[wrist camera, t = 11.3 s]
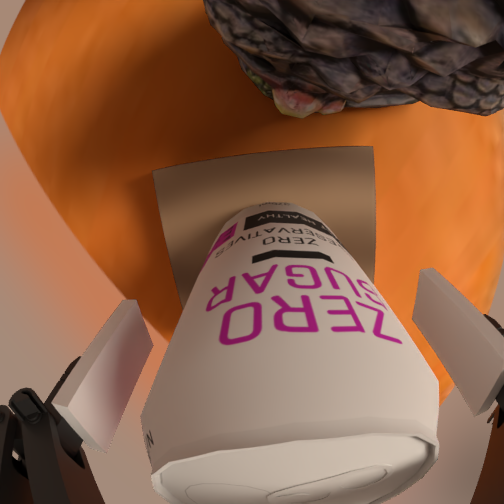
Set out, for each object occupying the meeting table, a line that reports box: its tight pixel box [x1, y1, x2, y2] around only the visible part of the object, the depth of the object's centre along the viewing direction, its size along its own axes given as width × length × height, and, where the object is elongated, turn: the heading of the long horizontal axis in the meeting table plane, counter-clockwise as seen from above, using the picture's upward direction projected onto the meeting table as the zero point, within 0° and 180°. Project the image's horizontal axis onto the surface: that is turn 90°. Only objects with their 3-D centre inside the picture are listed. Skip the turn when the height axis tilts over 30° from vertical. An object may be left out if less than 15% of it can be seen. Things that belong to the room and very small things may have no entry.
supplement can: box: [141, 202, 439, 504], centre depth 12 cm, size 8×8×15 cm
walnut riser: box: [152, 146, 376, 310], centre depth 20 cm, size 14×14×4 cm
